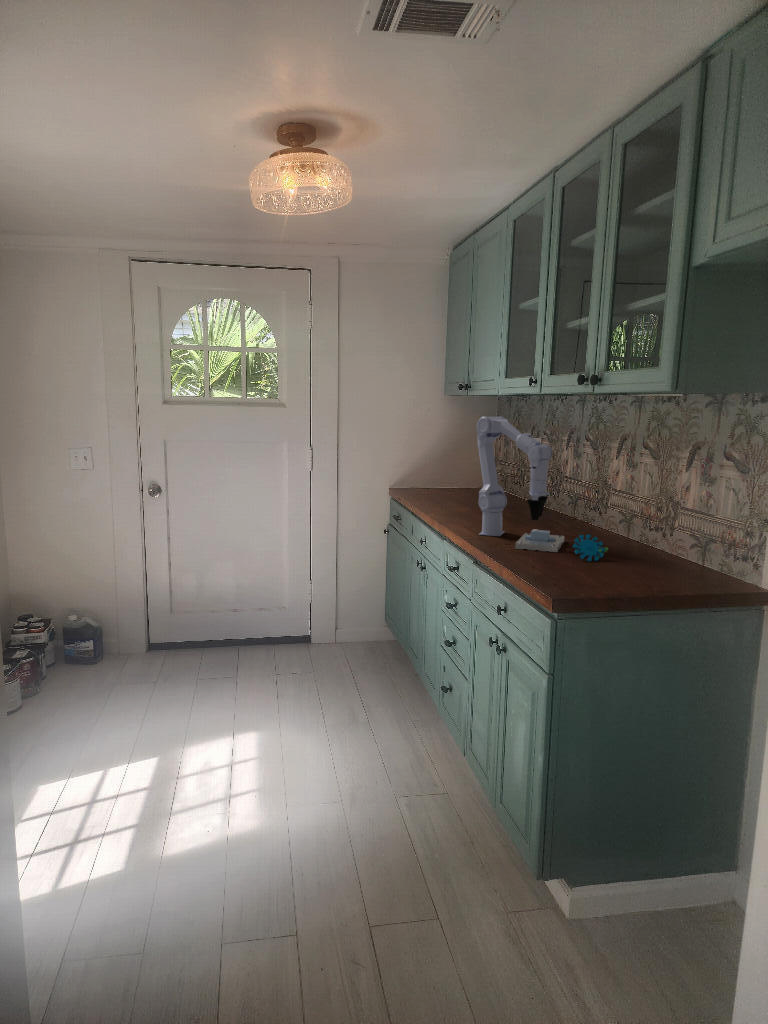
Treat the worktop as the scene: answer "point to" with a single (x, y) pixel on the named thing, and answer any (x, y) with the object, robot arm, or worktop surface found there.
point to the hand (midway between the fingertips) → (536, 518)
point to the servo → (540, 535)
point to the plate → (540, 544)
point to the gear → (589, 548)
